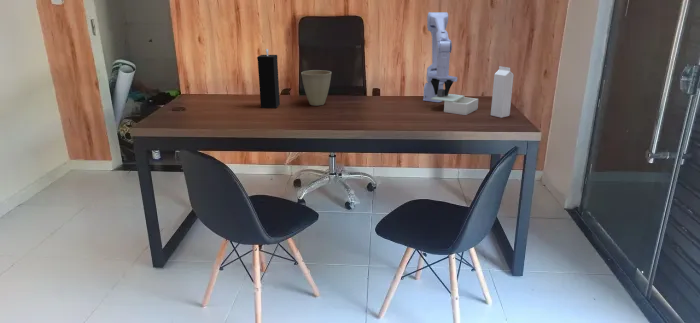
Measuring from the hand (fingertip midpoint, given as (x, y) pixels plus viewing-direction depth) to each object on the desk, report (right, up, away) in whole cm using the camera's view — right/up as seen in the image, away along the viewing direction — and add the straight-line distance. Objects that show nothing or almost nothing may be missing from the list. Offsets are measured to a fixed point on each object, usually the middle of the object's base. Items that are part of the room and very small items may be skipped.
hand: (441, 95), depth 237 cm
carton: (+9, -8, -4) cm, 12 cm away
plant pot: (-61, -3, +11) cm, 62 cm away
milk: (+24, -11, -13) cm, 30 cm away
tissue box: (-83, -5, +7) cm, 84 cm away
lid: (+3, -2, -2) cm, 4 cm away
